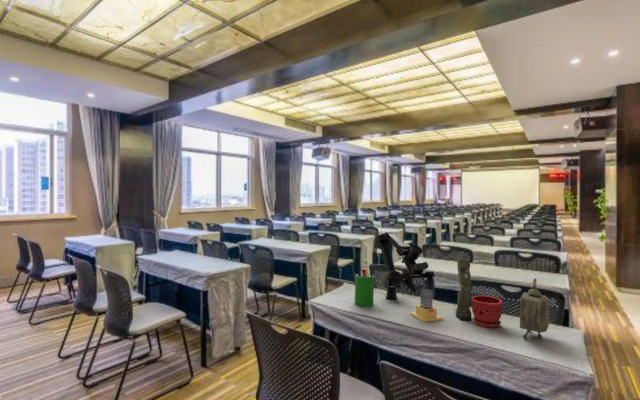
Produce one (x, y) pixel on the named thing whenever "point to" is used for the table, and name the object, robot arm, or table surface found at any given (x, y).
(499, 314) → the plant pot
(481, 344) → the table surface
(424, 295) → the column
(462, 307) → the mechanical leg
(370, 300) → the green pencil holder
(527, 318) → the tabletop clock
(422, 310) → the stand base
